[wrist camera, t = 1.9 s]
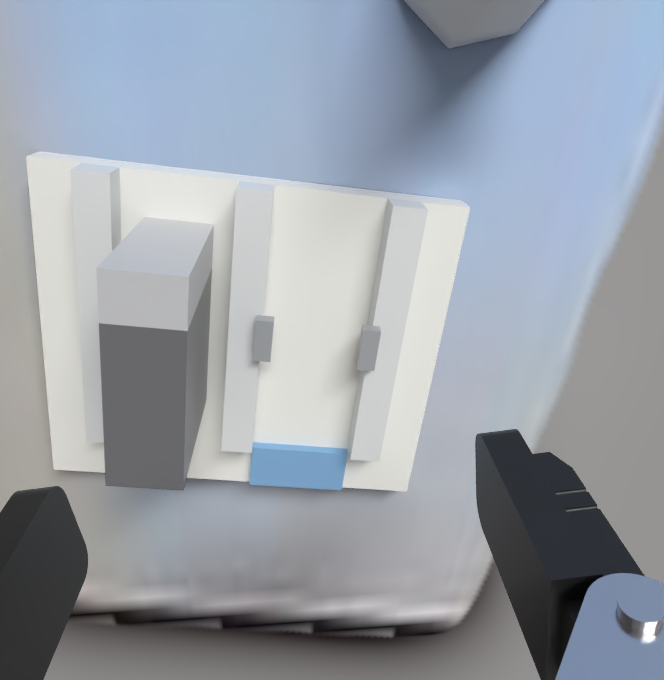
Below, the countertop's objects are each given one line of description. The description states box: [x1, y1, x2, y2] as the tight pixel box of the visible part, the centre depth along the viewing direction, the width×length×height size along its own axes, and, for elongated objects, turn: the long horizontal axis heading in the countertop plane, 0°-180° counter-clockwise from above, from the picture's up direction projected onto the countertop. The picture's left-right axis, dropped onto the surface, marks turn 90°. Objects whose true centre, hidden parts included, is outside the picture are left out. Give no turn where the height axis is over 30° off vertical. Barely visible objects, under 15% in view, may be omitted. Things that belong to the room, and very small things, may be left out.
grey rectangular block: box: [96, 217, 214, 490], centre depth 25 cm, size 3×9×7 cm, turn 173°
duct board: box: [26, 151, 470, 491], centre depth 29 cm, size 19×16×4 cm
